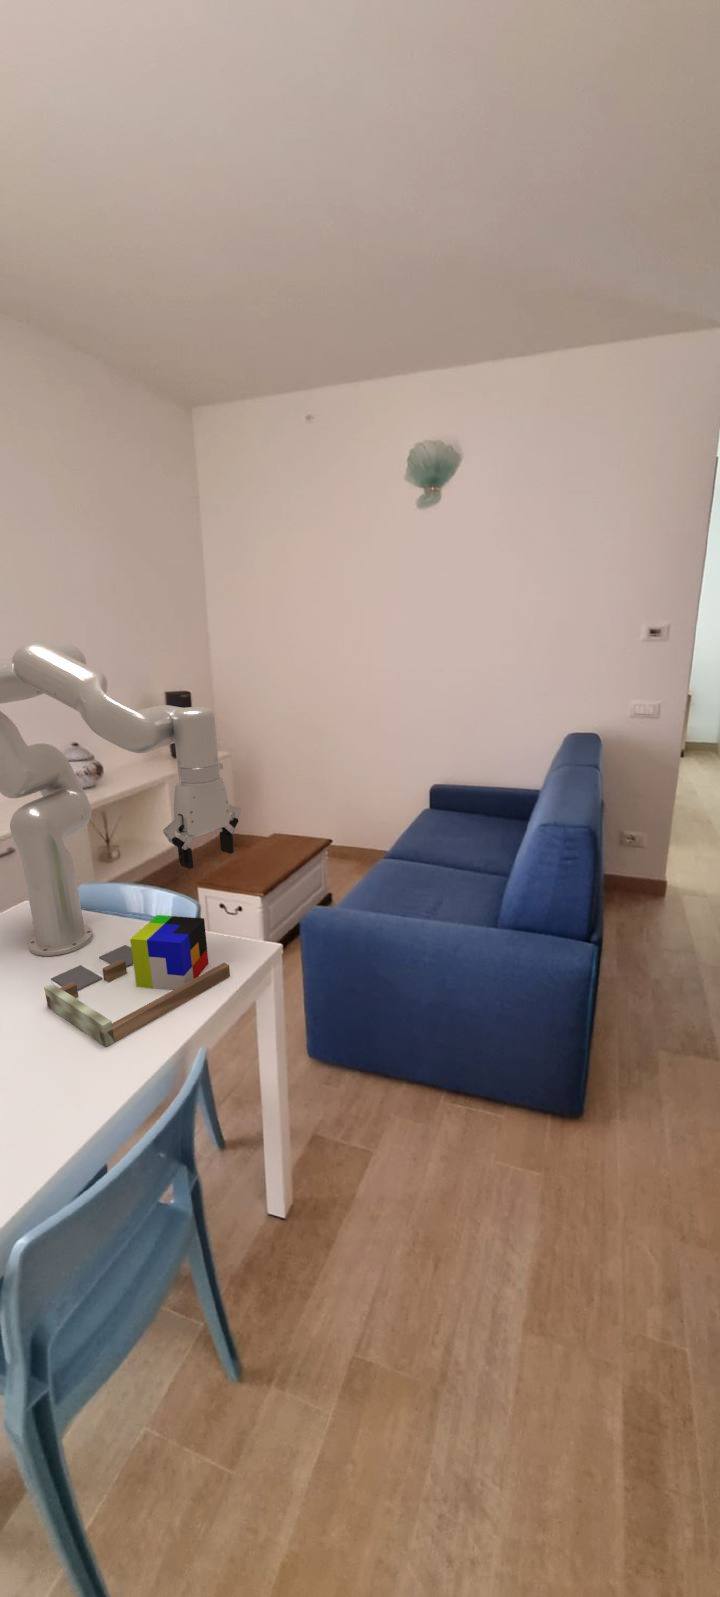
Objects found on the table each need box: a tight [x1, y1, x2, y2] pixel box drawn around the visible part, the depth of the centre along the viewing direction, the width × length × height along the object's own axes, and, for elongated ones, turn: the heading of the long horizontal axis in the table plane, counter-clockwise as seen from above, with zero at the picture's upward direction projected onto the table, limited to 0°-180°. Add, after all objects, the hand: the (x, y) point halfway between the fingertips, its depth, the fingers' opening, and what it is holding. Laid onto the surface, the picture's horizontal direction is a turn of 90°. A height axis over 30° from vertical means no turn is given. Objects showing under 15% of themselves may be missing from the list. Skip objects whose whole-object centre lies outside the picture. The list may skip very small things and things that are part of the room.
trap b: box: [98, 944, 134, 969], centre depth 131 cm, size 8×6×1 cm
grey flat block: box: [50, 964, 104, 991], centre depth 124 cm, size 8×6×1 cm
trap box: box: [43, 960, 231, 1048], centre depth 119 cm, size 19×26×4 cm
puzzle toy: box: [129, 914, 209, 991], centre depth 123 cm, size 10×10×10 cm
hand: (207, 859), depth 125 cm, fingers open, 9 cm apart
